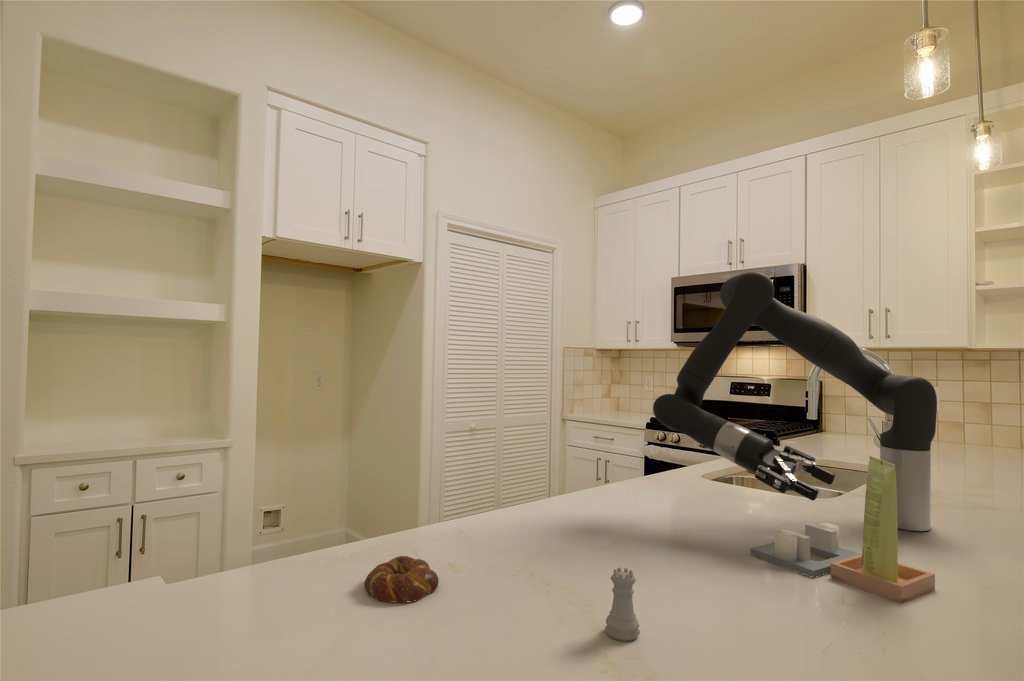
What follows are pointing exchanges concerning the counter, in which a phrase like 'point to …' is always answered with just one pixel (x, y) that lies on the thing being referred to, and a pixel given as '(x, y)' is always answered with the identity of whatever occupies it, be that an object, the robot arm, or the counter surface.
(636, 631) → the rook chess piece
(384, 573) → the brown pretzel bun
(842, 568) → the tray
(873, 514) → the tube
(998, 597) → the counter surface
